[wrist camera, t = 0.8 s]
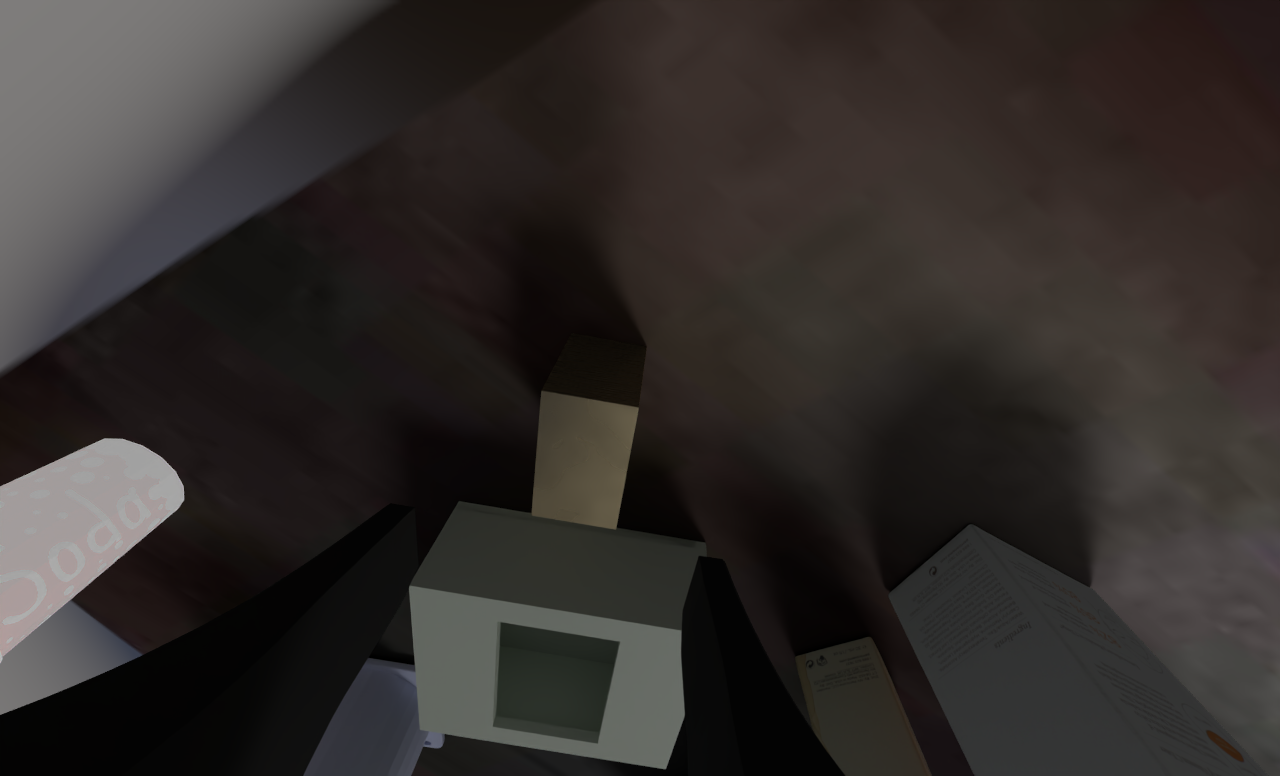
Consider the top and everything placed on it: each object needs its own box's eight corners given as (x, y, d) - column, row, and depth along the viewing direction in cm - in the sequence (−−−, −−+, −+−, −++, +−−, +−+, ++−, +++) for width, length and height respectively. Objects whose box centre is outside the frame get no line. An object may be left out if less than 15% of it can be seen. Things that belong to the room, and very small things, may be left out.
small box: (883, 591, 25) (1011, 870, 15) (970, 517, 22) (1184, 794, 13) (1002, 650, 26) (1186, 939, 17) (1095, 587, 24) (1372, 882, 14)
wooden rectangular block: (560, 437, 22) (531, 515, 17) (571, 332, 19) (541, 390, 15) (627, 449, 22) (616, 529, 17) (646, 345, 20) (638, 407, 15)
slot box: (460, 636, 28) (419, 729, 24) (459, 500, 24) (408, 585, 19) (667, 670, 28) (665, 769, 24) (705, 542, 24) (712, 635, 19)
